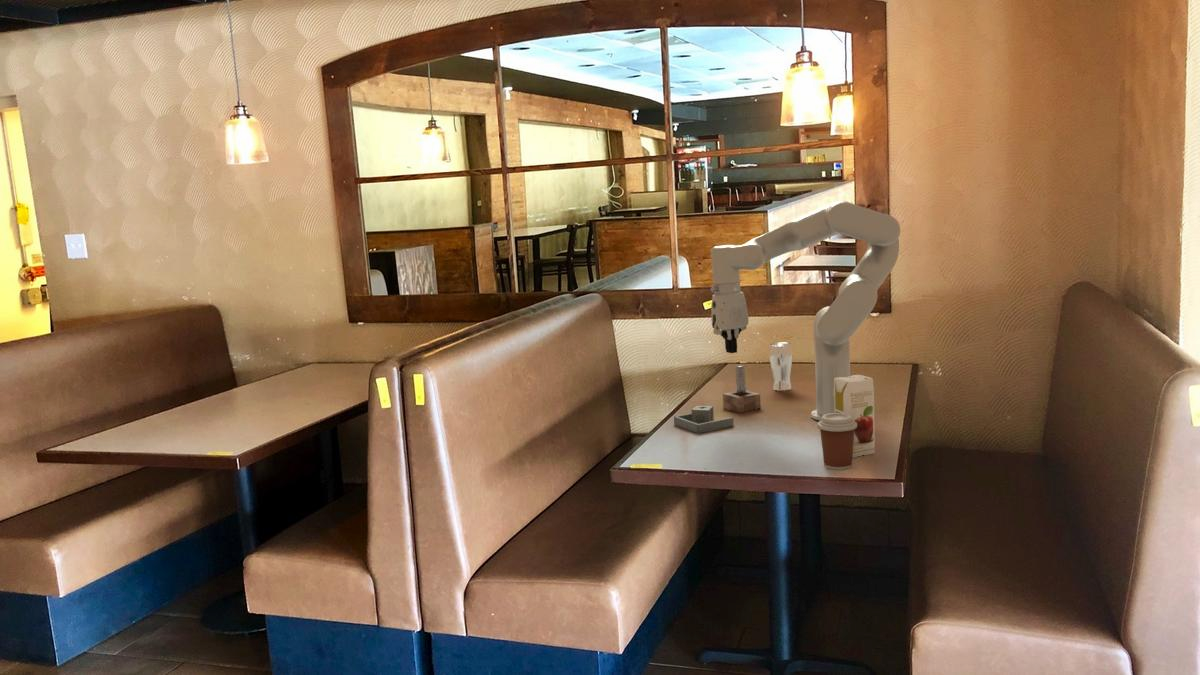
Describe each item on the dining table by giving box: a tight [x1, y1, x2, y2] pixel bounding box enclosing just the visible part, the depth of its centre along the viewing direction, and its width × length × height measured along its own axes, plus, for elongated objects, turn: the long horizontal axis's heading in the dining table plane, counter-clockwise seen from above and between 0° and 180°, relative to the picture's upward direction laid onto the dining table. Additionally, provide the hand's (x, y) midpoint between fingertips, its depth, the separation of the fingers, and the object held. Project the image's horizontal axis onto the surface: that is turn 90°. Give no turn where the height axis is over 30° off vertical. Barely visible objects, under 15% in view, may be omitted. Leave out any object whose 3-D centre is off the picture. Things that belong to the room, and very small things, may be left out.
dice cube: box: [691, 405, 715, 424], centre depth 261 cm, size 5×5×5 cm
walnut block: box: [722, 389, 762, 413], centre depth 278 cm, size 8×8×4 cm
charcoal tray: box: [673, 412, 735, 434], centre depth 261 cm, size 12×12×2 cm
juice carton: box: [834, 374, 876, 459], centre depth 224 cm, size 8×9×19 cm
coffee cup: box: [816, 413, 857, 471], centre depth 216 cm, size 9×9×12 cm
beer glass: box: [769, 342, 793, 392], centre depth 298 cm, size 7×7×15 cm
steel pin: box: [735, 364, 747, 396], centre depth 277 cm, size 3×3×13 cm
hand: (731, 352), depth 262 cm, fingers closed
